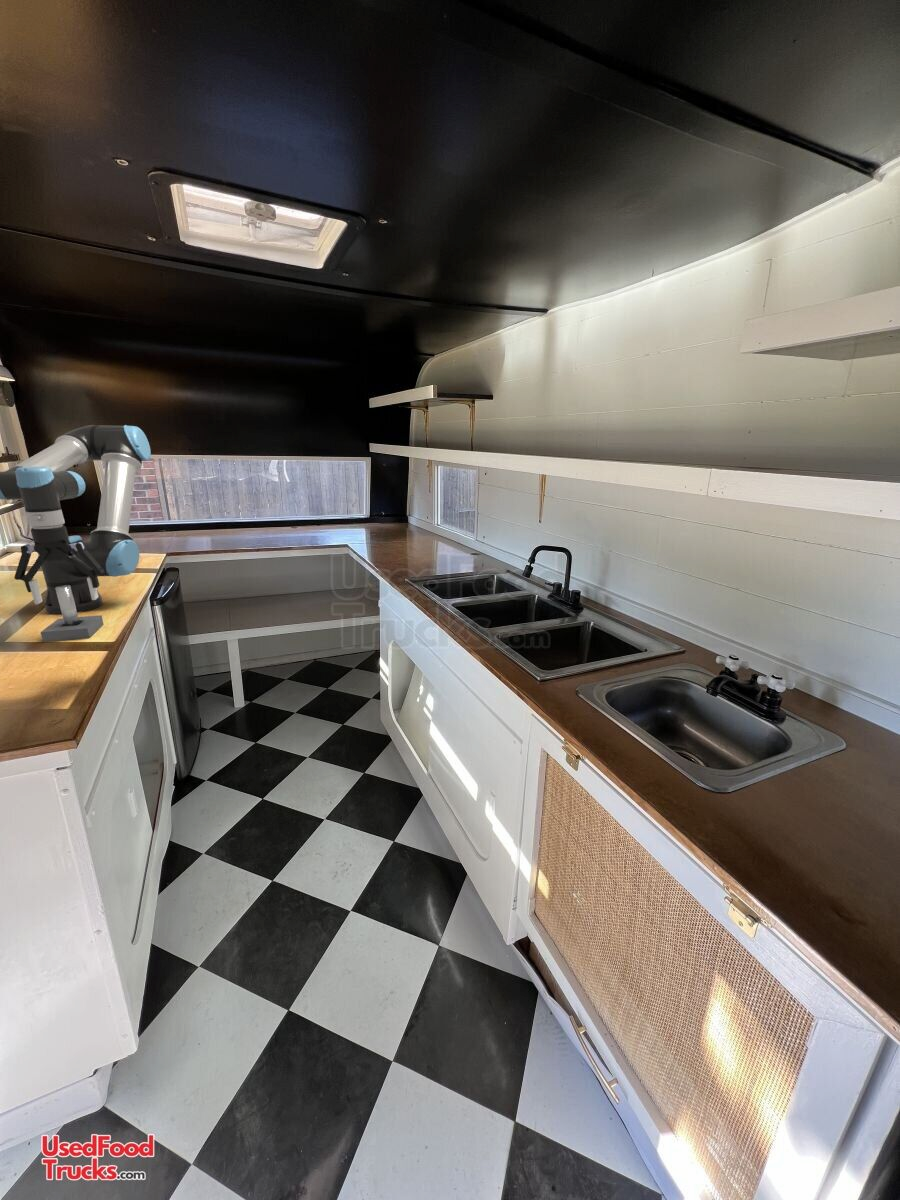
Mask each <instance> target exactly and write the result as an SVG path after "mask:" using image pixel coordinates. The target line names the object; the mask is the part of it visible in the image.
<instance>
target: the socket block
mask: <svg viewBox="0 0 900 1200" xmlns="http://www.w3.org/2000/svg"><path fill="white" fill-rule="evenodd" d="M78 618H79V622H80V624H79V625H75V626H65V624H64V620H63V617H61V618H60V617H59V618H57V619H56V620H54V621H53V622H52V623H51V624H49V625H48V626H46V628H44V629H43V630H42V631H40V636H41V638H42V639H41V640H42V641H43V642H42V643H49V642H51V643H52V642H61V641H71V640H72V641H73V640H82V639H83V640H84V639H90V638H91V637H92V636H94V634H95V633H97V631H99V629H101V628H102V627H103V626H104V619H103V616H102V614H100V615H87V616H86V615H85V616H78Z"/></svg>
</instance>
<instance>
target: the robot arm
mask: <svg viewBox="0 0 900 1200" xmlns="http://www.w3.org/2000/svg"><path fill="white" fill-rule="evenodd" d="M151 455H152V453H151V446H150V443H149V441H148V438H147V435H146V434H145V432H144V431H143V430H142V429H141V428H140V427H138V426H137V425H135V426H134V425H127V424H125V425H105V424H104V425H100V424H99V425H97V424H90V425H84V426H81V427H78V428H74V429H73V430H70V431H67V432H66V433H64V434H62V435H60V436H57V438H55V441H54V443H53V444H52V445H49V446H48V447H47V448H44V449H43V450H41V451H39V452H38V453H36V454H33V456H30V457H28V458H27V459H25V460H23V461H21V462H20V463H18V464H16V465H14V466H13V467H11V468H8V469H7V470H3V471H0V500H6V501H12V500H17V501H18V500H22V503H23V506H24V512H25V514H26V517H27V521H28V526H29V527H31V529H30V533H31V537H32V540H33V542H34V545H30V544H27V543H26V544H24V545H22V546H21V547H20V551H21V554H20V558H19V561H18V565H17V568H16V571H15V573H14V574H15V575H14V578H13V579H14V580H15V581H23V583H24V584H25V589H26V590H27V592H28V593H31V595H32V598H33V602H34V604H35V605H39V604H40V603H43V601H44V600H43V597H42V594H41V589H40V586H39V582H38V580H37V578H34V577H35V575H36V574H37V573H38V571H39V570H40V569H41V570H42V575H43V578H44V582H45V584H46V594H45V601H44V607H45V608H44V609H45V612H46V613H47V614H49V615H62V612H61V608H60V604H59V601H58V597H57V593H56V589H55V588H56V587H58V586H63V585H70V586H71V590H72V594H73V598H74V602H75V606H76V610H77V614H78V613H82V612H87V611H90V610H93V609H96V608H98V607H101V606H102V605H103V603H104V602H103V598H102V596H101V594H100V593H99V591H98V590H97V589H98V588H99V587H100V581H99V578H98V577H113V578H115V577H121V576H123V577H124V576H129V575H130V574H132V573H133V572H135V570H136V569H137V568H138V565H139V562H140V552H139V551H140V549H139V546H138V545H137V544H138V543H136V542H135V541H134V538H133V537H132V536H131V534H130V533H129V530H130V523H131V513H132V506H133V496H134V487H135V480H136V472H138V471H139V470H141V469H142V464H143V462H146V461H149V460H150V459H151ZM88 461H89V462H90V461H101V462H102V463H103V465H104V473H103V481H102V488H101V495H100V504H99V511H98V518H97V526H96V528H95V529H94V530H92V531H91V532H90V533H89V534H90V535H89V540H83V538H82V536H80V535H70V536H69V534H68V530H67V526H65V523H66V522H65V518H64V514H63V511H62V506H61V503H60V502H61V501H63V500H70V499H75V498H77V497H80V496H82V494H84V493H85V491H86V482H85V481H84V478H83V477H82V475H80V473H77V472H74V471H71V470H68V469H70V468H72V466H74V465H81V464H84V463H86V462H88ZM34 552H36V553H37V554H38V555H37V558H36V559H35V562H34V563H33V564H32V566H31V567H30V568H29V570H28V571H27V568H28V566H29V563H30V559H31V556H32V554H33V553H34ZM26 572H27V573H26Z"/></svg>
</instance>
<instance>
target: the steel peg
mask: <svg viewBox="0 0 900 1200" xmlns="http://www.w3.org/2000/svg"><path fill="white" fill-rule="evenodd" d="M55 589H56V593H57V597H58V601H59V604H60V608H61V612H62V614H61V616H62V618H63V620H64V624H65V626H75V625H79V624H80V622H79V618H78V617H79V616H78V615H79V614H78V613H77V610H76V606H75V602H74V598H73V594H72V590H71V586H70V585H63V586H58V587H56V588H55Z"/></svg>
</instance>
